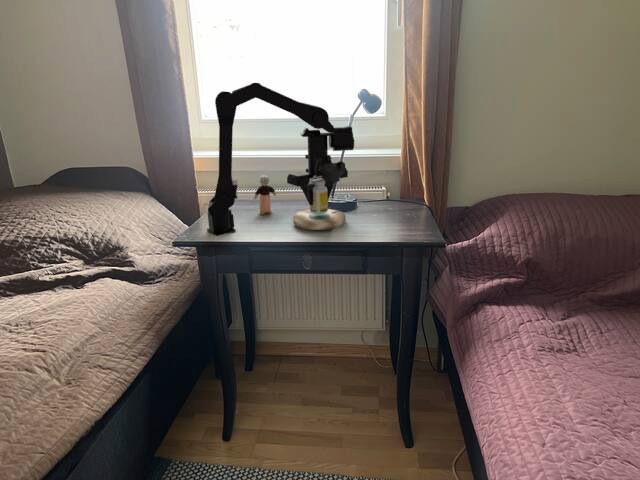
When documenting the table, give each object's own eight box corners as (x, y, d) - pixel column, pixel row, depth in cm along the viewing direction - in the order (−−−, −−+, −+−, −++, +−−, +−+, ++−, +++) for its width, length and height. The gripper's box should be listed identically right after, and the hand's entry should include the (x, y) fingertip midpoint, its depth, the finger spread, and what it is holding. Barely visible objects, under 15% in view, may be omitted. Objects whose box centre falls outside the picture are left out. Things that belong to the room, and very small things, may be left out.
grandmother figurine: (260, 216, 149) (257, 178, 145) (253, 213, 152) (250, 176, 148) (279, 211, 154) (277, 174, 149) (273, 209, 157) (270, 172, 152)
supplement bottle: (328, 209, 142) (328, 177, 138) (327, 214, 137) (326, 182, 133) (311, 208, 142) (310, 177, 139) (309, 214, 137) (308, 182, 134)
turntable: (314, 236, 130) (314, 228, 129) (283, 223, 142) (282, 215, 141) (356, 224, 139) (356, 216, 138) (323, 212, 151) (323, 205, 150)
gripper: (308, 159, 122) (309, 216, 127) (360, 151, 132) (359, 203, 138) (284, 154, 130) (287, 207, 135) (335, 146, 141) (336, 196, 146)
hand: (318, 203), depth 138 cm, fingers closed on supplement bottle, 5 cm apart
